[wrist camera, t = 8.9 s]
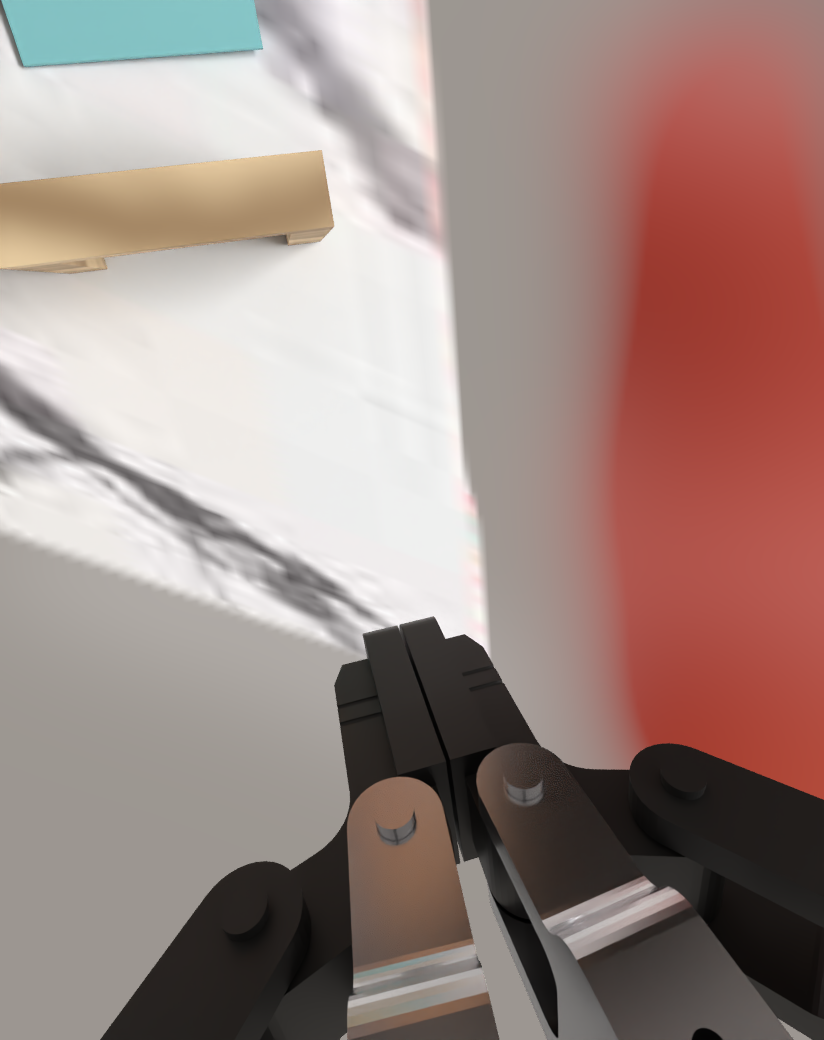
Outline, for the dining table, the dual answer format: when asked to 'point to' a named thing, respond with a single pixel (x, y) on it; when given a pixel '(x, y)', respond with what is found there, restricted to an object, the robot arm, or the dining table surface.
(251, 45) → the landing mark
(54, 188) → the bridge
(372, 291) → the dining table surface
